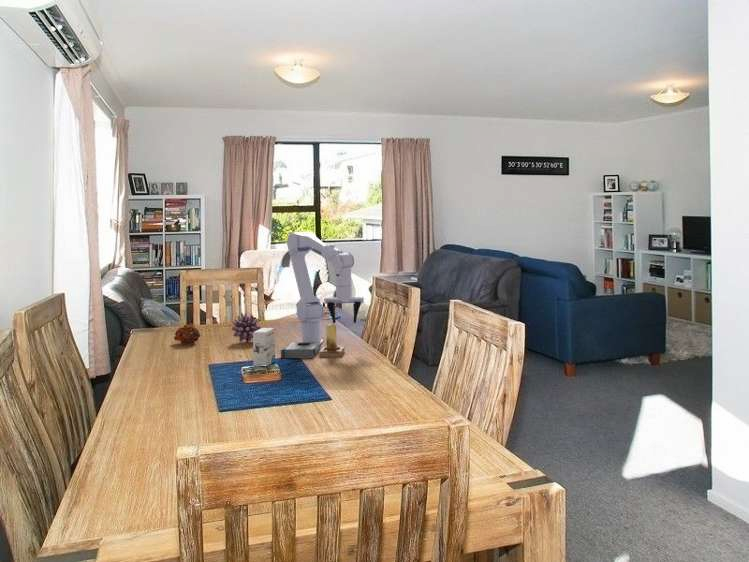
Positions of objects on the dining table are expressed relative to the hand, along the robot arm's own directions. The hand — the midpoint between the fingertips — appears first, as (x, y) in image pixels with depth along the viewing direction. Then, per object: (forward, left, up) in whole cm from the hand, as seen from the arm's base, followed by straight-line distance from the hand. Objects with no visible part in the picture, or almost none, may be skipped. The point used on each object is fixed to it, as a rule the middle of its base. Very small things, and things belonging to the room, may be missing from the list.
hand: (344, 322), depth 230 cm
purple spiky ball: (-17, -42, -11) cm, 47 cm away
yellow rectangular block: (+7, -4, -9) cm, 12 cm away
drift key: (+10, -17, -10) cm, 22 cm away
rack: (+7, -4, -10) cm, 13 cm away
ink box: (+21, -25, -11) cm, 34 cm away
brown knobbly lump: (-15, -66, -11) cm, 69 cm away
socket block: (+6, -15, -10) cm, 19 cm away
